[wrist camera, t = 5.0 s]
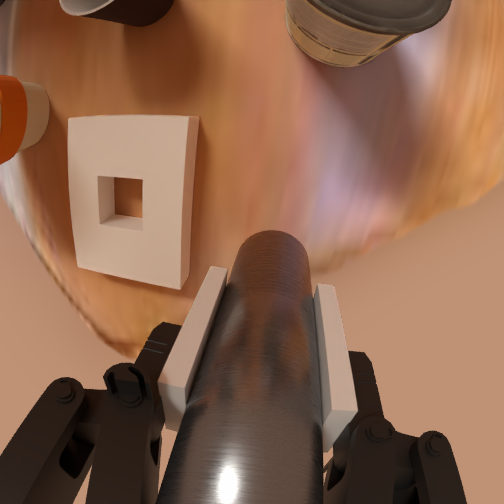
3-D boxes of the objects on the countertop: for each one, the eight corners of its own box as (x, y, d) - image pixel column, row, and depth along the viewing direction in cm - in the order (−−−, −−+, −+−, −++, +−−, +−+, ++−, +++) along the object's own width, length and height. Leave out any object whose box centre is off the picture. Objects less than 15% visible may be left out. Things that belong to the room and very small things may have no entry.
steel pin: (240, 224, 16) (105, 593, 2) (315, 237, 16) (347, 620, 1) (233, 288, 18) (146, 586, 3) (300, 299, 17) (291, 606, 3)
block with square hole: (86, 115, 28) (68, 118, 25) (199, 116, 27) (188, 116, 24) (92, 254, 36) (77, 267, 33) (189, 274, 35) (180, 289, 32)
